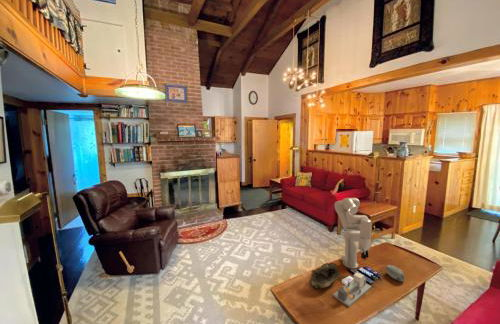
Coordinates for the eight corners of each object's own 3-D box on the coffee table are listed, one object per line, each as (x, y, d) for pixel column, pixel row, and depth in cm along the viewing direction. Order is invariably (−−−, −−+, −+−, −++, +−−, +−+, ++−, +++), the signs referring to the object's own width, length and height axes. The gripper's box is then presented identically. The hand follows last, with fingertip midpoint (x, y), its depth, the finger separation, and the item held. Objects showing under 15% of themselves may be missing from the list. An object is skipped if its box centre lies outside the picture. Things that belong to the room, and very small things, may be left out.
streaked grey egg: (410, 278, 156) (403, 267, 157) (401, 286, 155) (394, 274, 155) (395, 271, 170) (389, 261, 170) (387, 278, 168) (380, 267, 169)
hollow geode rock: (336, 282, 166) (327, 263, 175) (346, 279, 157) (336, 259, 165) (309, 293, 155) (301, 271, 163) (318, 290, 145) (309, 268, 154)
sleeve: (353, 284, 154) (353, 274, 153) (357, 281, 157) (357, 272, 156) (360, 288, 150) (360, 278, 149) (363, 285, 152) (363, 275, 152)
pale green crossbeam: (341, 294, 143) (341, 291, 142) (360, 279, 157) (360, 277, 157) (344, 296, 141) (344, 293, 140) (363, 281, 155) (363, 278, 155)
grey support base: (333, 296, 146) (333, 286, 145) (355, 279, 162) (355, 270, 161) (349, 307, 136) (349, 297, 135) (371, 288, 152) (371, 278, 151)
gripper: (365, 230, 161) (365, 252, 163) (354, 236, 152) (354, 259, 154) (375, 233, 155) (375, 256, 157) (364, 240, 146) (364, 264, 148)
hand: (364, 257), depth 155 cm, fingers closed
